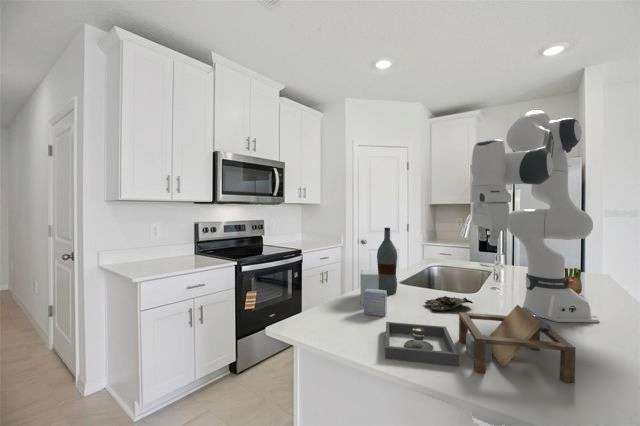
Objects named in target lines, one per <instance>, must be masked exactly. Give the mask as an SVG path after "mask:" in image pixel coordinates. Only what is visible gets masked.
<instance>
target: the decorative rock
mask: <svg viewBox="0 0 640 426" xmlns="http://www.w3.org/2000/svg"><path fill="white" fill-rule="evenodd" d="M466 303H469V304H474V302H473V301H472V300H470V299H467V297H463V298H460V297H455V296H454V297H450V296H447V295H444V296H440V297H436V298H435V299H434V298H432V299H426V301H424V304H425V305H427V306H430V309H431V310H432V311H434V312H435V311H436V312H444V311H446V310H449V311H453V310H455V309H457V308H458V307H457V306H460V305H462V304H466Z"/></svg>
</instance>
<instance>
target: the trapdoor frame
mask: <svg viewBox="0 0 640 426" xmlns="http://www.w3.org/2000/svg"><path fill="white" fill-rule="evenodd" d="M458 314H459V316H458V341H459V343H460V344H466V333H471V335H472V337H473V338H474V359H473V370H474V372H475V373H476V374H481V375H485V374H486V361H485V346H486V344H495V345H506V346H517V347H521V348H527V349H528V348H529V349H530V350H531V351H540V349H541V350H550V351H560V352H559V353H560V354H559V357H560V358H559V359H560V360H559V379H560V380H561V381H562V382H563V383H564V382H565V383H564V384H569V383H576V353H577V352H576V351H577V350H576V346H574V345H573V344H572V343H570V342H569V341H568V340H566V339H565V338H563V336H561V335H560V334H559V333H557V332H556V331H555V330H553V329H552V328H551V327H550V331H549V332H547V333H543V334H544V335H546V336H547V337H548V338H549V339H550V340H551V341H544V340H541V332H540V331H539V330H537V331H536V332H535V333H534V334H533V335H532V337H531V338H530V339H529V340H523V339H512V338H501V337H489V336H490V335H486V336H483V335H484V334H483V333H482V332H481V331H480V330H479V328H478V327H477V325H476V324H475V322H473V320H480V321H481V320H482V321H494V322H495V321H496V322H502V321H503V320H504V319H505V318H506V317H507V316H508V315H501V314H499V315H498V314H488V313H486V314H485V313H473V312H458ZM482 334H483V335H482Z"/></svg>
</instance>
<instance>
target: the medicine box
mask: <svg viewBox="0 0 640 426" xmlns="http://www.w3.org/2000/svg"><path fill="white" fill-rule="evenodd" d="M387 298H388V295H387V291H386V290H377V289H366V290H365V291H364V304H363V315H369V316H376V317H378V316H379V317H386V315H387V313H388V312H387V311H388V310H387V309H388V307H387V306H388V305H387Z"/></svg>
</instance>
